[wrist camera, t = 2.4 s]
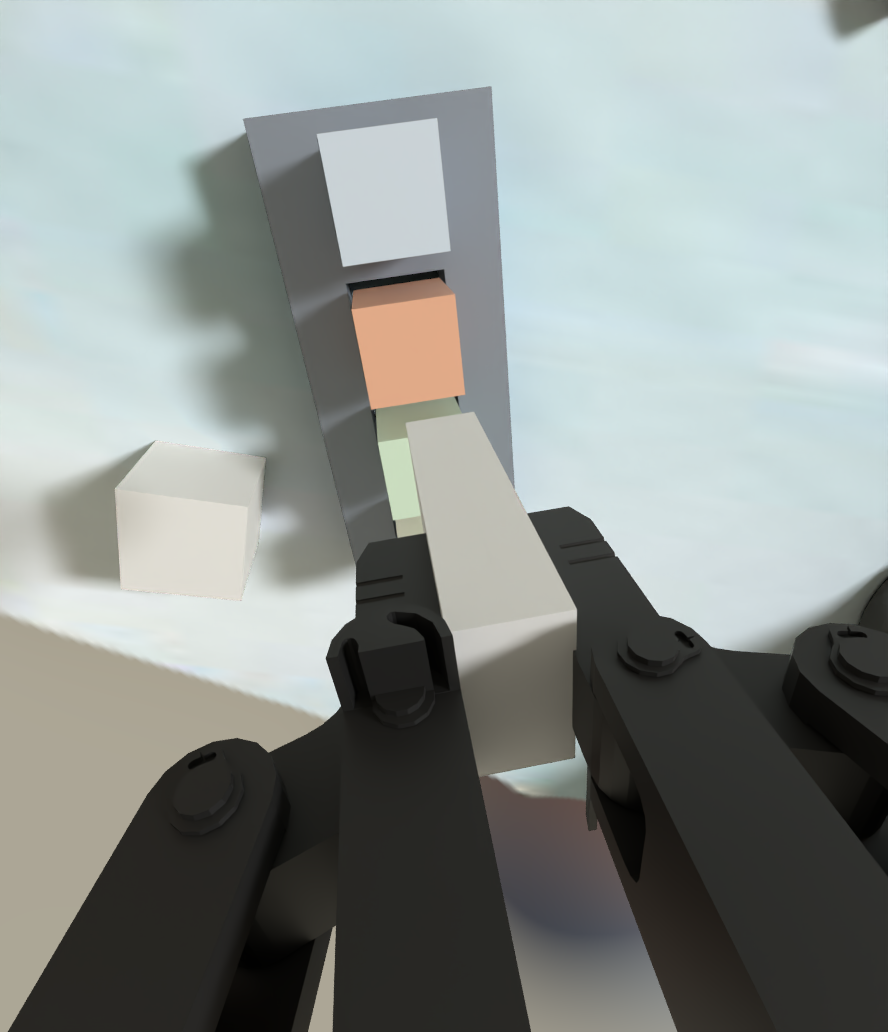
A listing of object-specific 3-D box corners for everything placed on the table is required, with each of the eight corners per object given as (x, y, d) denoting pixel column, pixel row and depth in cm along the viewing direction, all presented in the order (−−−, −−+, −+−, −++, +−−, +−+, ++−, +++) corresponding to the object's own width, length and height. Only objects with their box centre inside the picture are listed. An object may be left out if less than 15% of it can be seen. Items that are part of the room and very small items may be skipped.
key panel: (507, 525, 36) (518, 550, 34) (359, 550, 36) (359, 578, 33) (477, 98, 24) (491, 86, 22) (255, 127, 24) (243, 118, 21)
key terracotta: (449, 363, 27) (465, 394, 23) (369, 376, 27) (371, 409, 23) (439, 277, 25) (455, 294, 21) (353, 290, 25) (351, 309, 21)
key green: (460, 462, 30) (476, 506, 26) (388, 473, 30) (393, 520, 25) (452, 392, 28) (468, 427, 24) (375, 404, 28) (377, 442, 23)
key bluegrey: (435, 241, 24) (450, 251, 20) (346, 254, 24) (343, 266, 20) (422, 133, 22) (437, 118, 18) (325, 146, 22) (316, 133, 18)
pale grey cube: (158, 528, 33) (120, 589, 28) (156, 439, 30) (113, 488, 25) (259, 541, 35) (241, 601, 29) (267, 457, 32) (247, 507, 27)
